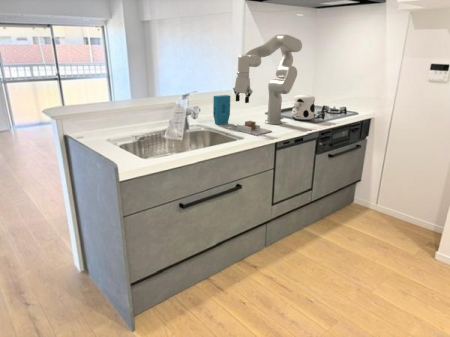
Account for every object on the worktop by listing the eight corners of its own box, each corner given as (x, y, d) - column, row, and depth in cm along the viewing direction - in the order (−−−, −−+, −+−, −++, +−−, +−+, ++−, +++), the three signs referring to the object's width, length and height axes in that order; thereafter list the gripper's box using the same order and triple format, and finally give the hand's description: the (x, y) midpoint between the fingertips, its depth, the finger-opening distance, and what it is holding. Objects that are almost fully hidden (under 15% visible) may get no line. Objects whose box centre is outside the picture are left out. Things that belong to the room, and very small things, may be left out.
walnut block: (249, 127, 228) (249, 120, 227) (255, 129, 225) (255, 121, 223) (244, 128, 225) (245, 121, 223) (250, 130, 222) (250, 122, 220)
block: (216, 125, 237) (217, 96, 230) (212, 123, 241) (213, 95, 234) (230, 123, 244) (231, 95, 237) (226, 122, 247) (226, 94, 240)
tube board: (245, 125, 238) (245, 121, 237) (271, 131, 222) (272, 127, 221) (229, 128, 228) (229, 124, 226) (256, 135, 212) (256, 130, 211)
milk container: (287, 119, 263) (289, 96, 257) (297, 116, 275) (300, 94, 269) (306, 122, 252) (309, 98, 246) (317, 119, 265) (320, 96, 259)
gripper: (229, 74, 222) (229, 100, 228) (249, 76, 210) (248, 104, 216) (237, 73, 227) (236, 100, 233) (257, 75, 215) (255, 103, 221)
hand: (242, 101), depth 224 cm, fingers open, 7 cm apart
